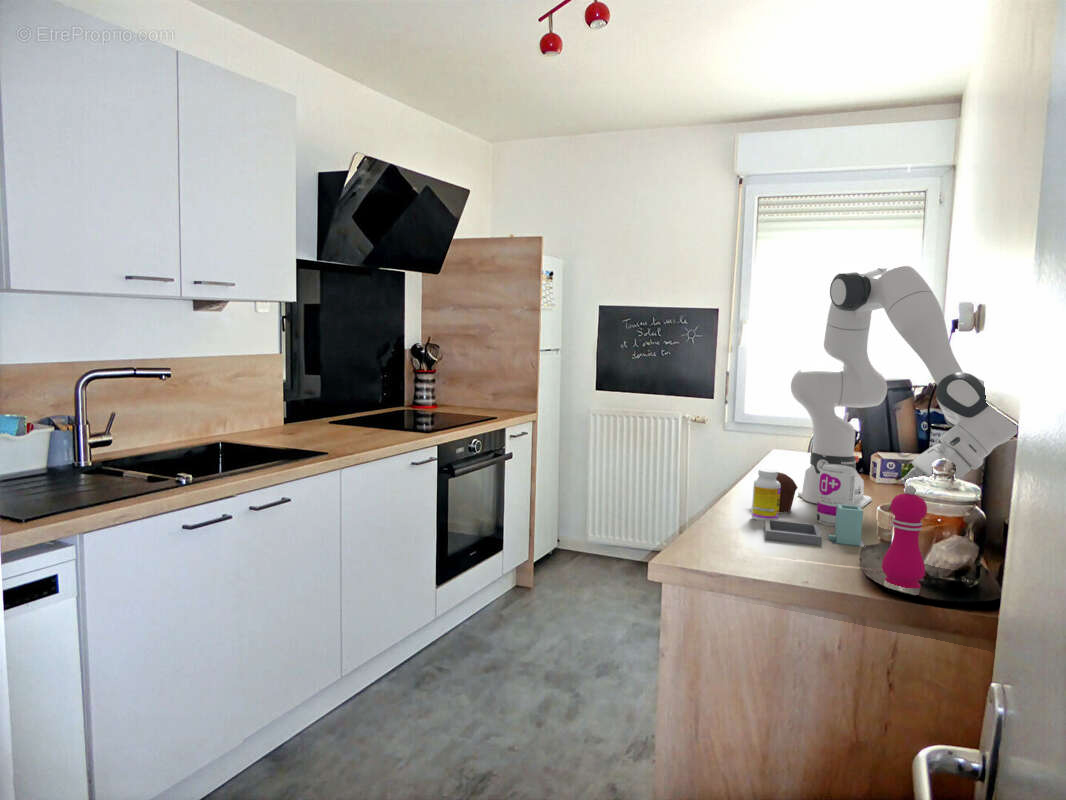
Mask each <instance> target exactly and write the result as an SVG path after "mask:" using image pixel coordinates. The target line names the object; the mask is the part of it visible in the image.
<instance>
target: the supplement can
mask: <svg viewBox="0 0 1066 800" xmlns="http://www.w3.org/2000/svg"><path fill="white" fill-rule="evenodd" d="M854 482H855V473H854V471H853V468H852V467H850V466H846V465H838V464H824V465H823V467H822V468H821V470H820V477H819V490H818V502H817V504H816V515H815V520H816V521H817V522H818V523H820V524H821V525H825V526H829V527H835V522H836V510H837V504H842V505H852V506H853V494H854Z"/></svg>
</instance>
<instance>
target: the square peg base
mask: <svg viewBox="0 0 1066 800" xmlns="http://www.w3.org/2000/svg"><path fill="white" fill-rule="evenodd" d="M830 541H831V540H830ZM831 544H832V545H840V546H841V545H842V546H849V547H858V548H859V547H860V548H863V547H862V546H864V545H865V543H864V542H863V540H862V539H861V544H860V545H851V544H842V543H836V541H831Z"/></svg>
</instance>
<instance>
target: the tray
mask: <svg viewBox="0 0 1066 800" xmlns="http://www.w3.org/2000/svg"><path fill="white" fill-rule="evenodd" d="M764 538H765V541H773V542H778V543H779V542H780V543H781V542H782V543H791V544H797V545H807V546H815V547H822V542H823V536H822V533H821V531H820V527H819V525H818V524H815V523H807V522H797V521H790V520H789V521H788V520H780V519H778V520H771V519H765V521H764Z"/></svg>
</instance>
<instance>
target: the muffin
mask: <svg viewBox="0 0 1066 800" xmlns="http://www.w3.org/2000/svg"><path fill="white" fill-rule="evenodd" d="M757 479H759V477H758V478H757ZM776 480H777V481H778V482H779V483H780V485H781V489H780V503H779V512H783V513H789V512H790V510H791V511H792V507H793V502H794V498H795V494H796V491H797V490H798V489H799V488H798V486H797V484H796V481H794V479H793V478H792V477H790V476H789V475H787V474H786V473H783V472H779V471H778V476H777V477H776Z"/></svg>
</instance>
